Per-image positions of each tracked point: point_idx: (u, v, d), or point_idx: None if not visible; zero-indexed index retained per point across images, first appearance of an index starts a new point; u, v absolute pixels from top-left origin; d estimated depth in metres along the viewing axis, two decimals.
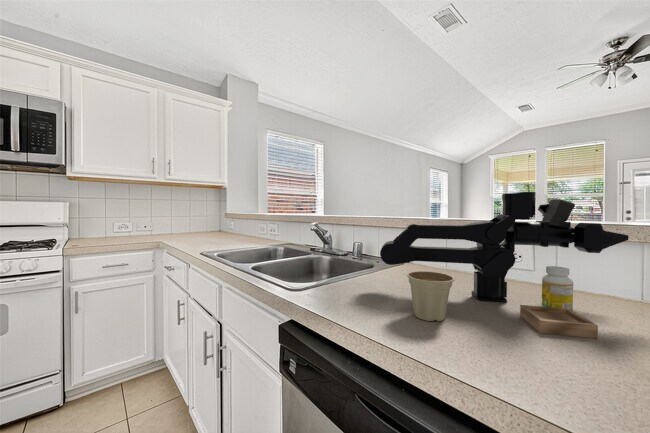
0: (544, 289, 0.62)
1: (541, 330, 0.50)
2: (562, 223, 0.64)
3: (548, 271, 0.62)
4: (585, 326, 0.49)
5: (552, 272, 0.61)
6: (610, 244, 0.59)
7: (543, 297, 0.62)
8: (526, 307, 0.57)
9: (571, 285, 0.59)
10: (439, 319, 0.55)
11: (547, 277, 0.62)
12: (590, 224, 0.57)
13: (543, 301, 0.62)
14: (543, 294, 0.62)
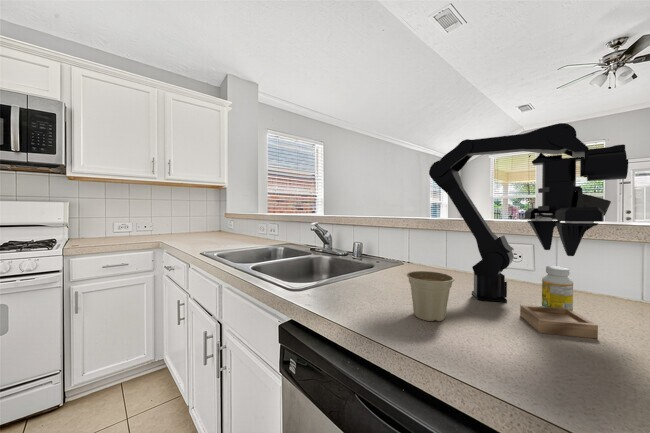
0: (544, 289, 0.62)
1: (541, 330, 0.50)
2: (581, 203, 0.58)
3: (548, 271, 0.62)
4: (585, 326, 0.49)
5: (552, 272, 0.61)
6: (566, 238, 0.56)
7: (543, 297, 0.62)
8: (526, 307, 0.57)
9: (571, 285, 0.59)
10: (439, 319, 0.55)
11: (547, 277, 0.62)
12: (602, 212, 0.52)
13: (543, 301, 0.62)
14: (543, 294, 0.62)
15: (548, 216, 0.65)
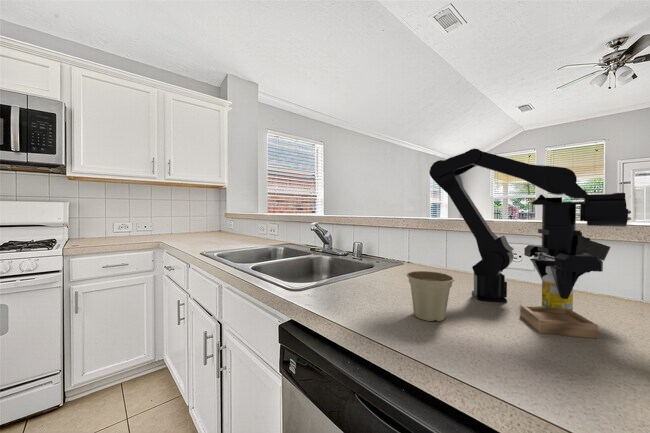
0: (544, 289, 0.62)
1: (541, 330, 0.50)
2: (580, 247, 0.58)
3: (548, 271, 0.62)
4: (585, 326, 0.49)
5: None
6: (560, 281, 0.58)
7: (543, 297, 0.62)
8: (526, 307, 0.57)
9: None
10: (439, 319, 0.55)
11: (547, 277, 0.62)
12: (601, 262, 0.52)
13: (543, 301, 0.62)
14: (543, 294, 0.62)
15: (548, 256, 0.65)
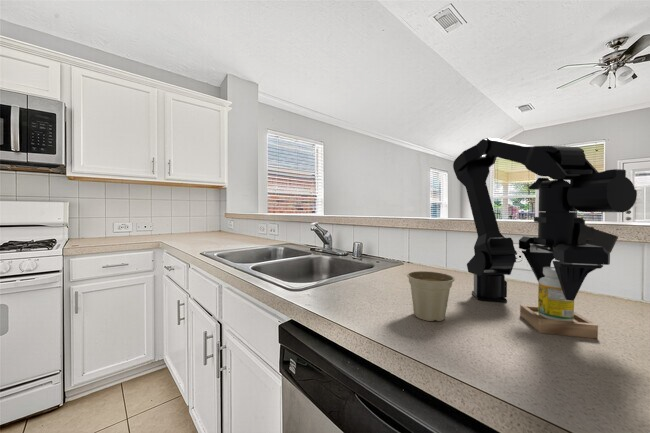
0: (541, 293, 0.54)
1: (541, 330, 0.50)
2: (583, 237, 0.50)
3: (545, 273, 0.53)
4: (585, 326, 0.49)
5: (550, 274, 0.52)
6: (564, 280, 0.48)
7: (540, 303, 0.54)
8: (526, 307, 0.57)
9: None
10: (439, 319, 0.55)
11: (544, 279, 0.53)
12: (608, 253, 0.44)
13: (540, 307, 0.54)
14: (540, 299, 0.54)
15: (545, 248, 0.56)
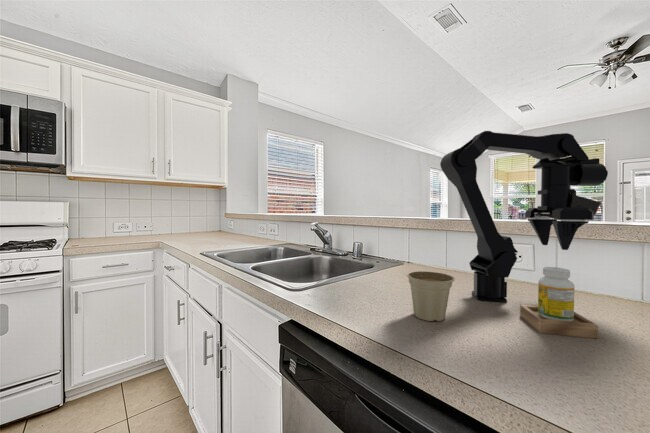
0: (541, 293, 0.54)
1: (541, 330, 0.50)
2: (575, 203, 0.66)
3: (545, 273, 0.53)
4: (585, 326, 0.49)
5: (550, 274, 0.52)
6: (561, 234, 0.65)
7: (540, 303, 0.54)
8: (526, 307, 0.57)
9: (572, 289, 0.51)
10: (439, 319, 0.55)
11: (544, 280, 0.53)
12: (592, 211, 0.61)
13: (539, 307, 0.54)
14: (540, 299, 0.54)
15: (546, 215, 0.73)
